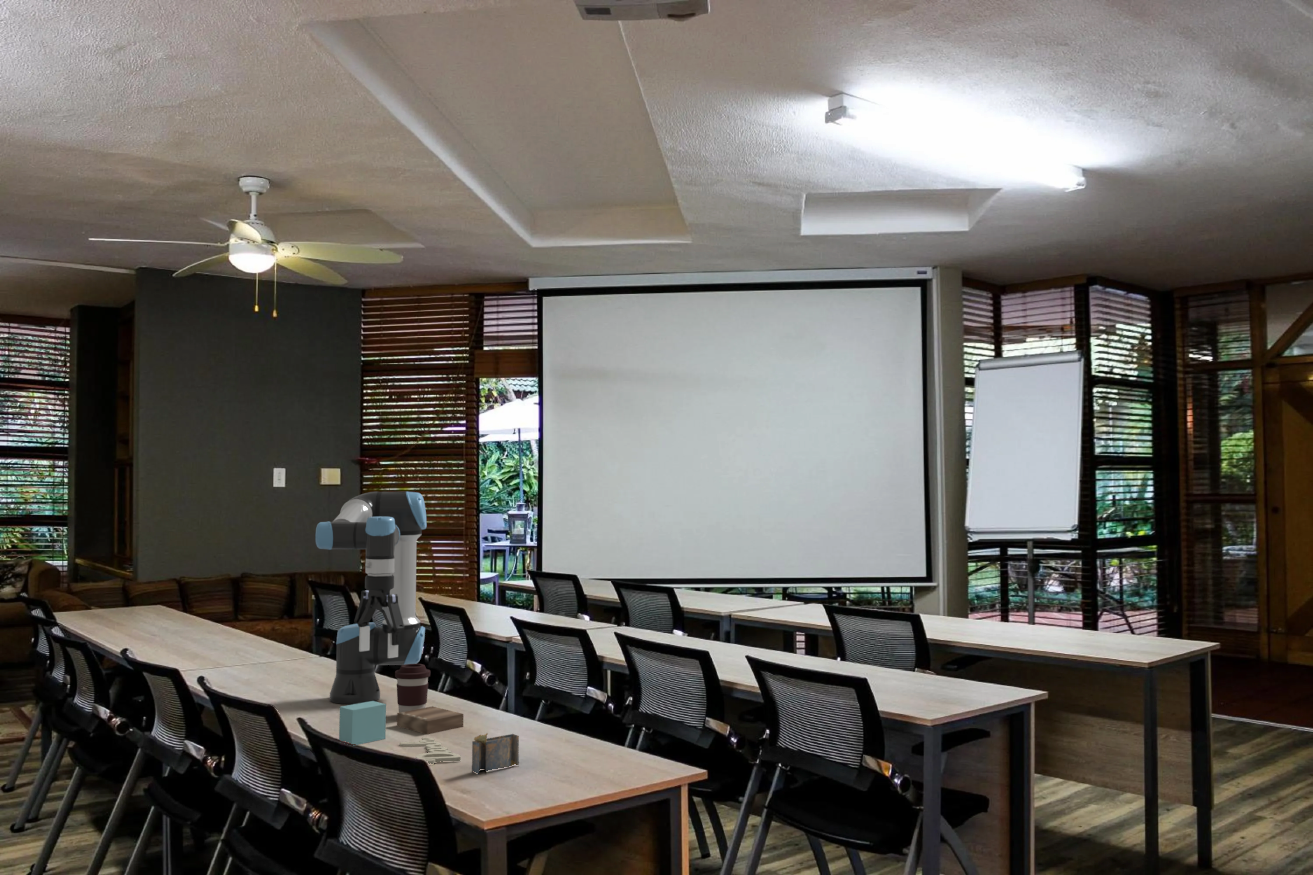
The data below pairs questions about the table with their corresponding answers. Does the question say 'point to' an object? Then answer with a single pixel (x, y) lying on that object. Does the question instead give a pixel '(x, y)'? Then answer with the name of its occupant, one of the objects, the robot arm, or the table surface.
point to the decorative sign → (433, 751)
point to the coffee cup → (412, 686)
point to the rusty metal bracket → (494, 752)
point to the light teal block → (362, 722)
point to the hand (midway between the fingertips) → (378, 654)
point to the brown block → (430, 720)
